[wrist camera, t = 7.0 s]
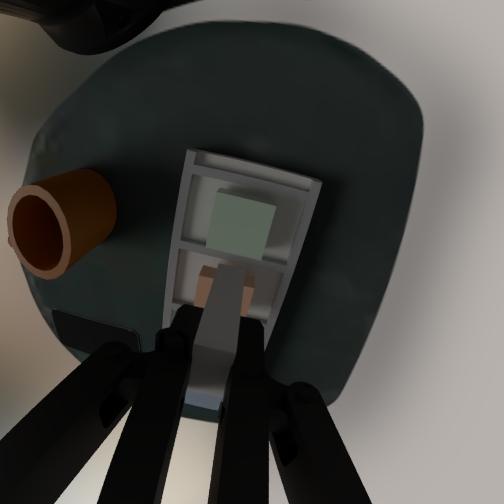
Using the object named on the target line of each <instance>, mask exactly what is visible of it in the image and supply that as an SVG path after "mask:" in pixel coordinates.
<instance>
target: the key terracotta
mask: <svg viewBox="0 0 504 504" xmlns="http://www.w3.org/2000/svg"><path fill="white" fill-rule="evenodd" d="M216 270H217V268H214V267H210V266H205V265H203V267H202V269H201V271H200V274H199V277H198V283H197V289H196V295H195V301H194V306H197V307H201V308H205V304H206V301H207V298H208V295H209V292H210V289H211V286H212V282H213V279H214V276H215V273H216ZM254 288H255V277H252V276H248V275H245V280H244V289H243V297H242V306H241V315H240V316H244V317H246V316H247V312H248V309H249V305H250V302H251V299H252V295H253V292H254Z"/></svg>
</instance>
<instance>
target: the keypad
mask: <svg viewBox="0 0 504 504" xmlns="http://www.w3.org/2000/svg"><path fill="white" fill-rule="evenodd" d="M321 186H322V182H321V181H320V180H319V179H316V178H313V177H309V176H306V175H302V174H299V173H295V172H292V171H288V170H285V169H281V168H277V167H273V166H269V165H265V164H261V163H257V162H253V161H249V160H245V159H241V158H236V157H232V156H227V155H223V154H218V153H213V152H208V151H203V150H198V149H193V148H192V149H187V154H186V159H185V163H184V169H183V174H182V179H181V184H180V190H179V196H178V201H177V207H176V214H175V220H174V227H173V233H172V240H171V248H170V256H169V264H168V272H167V281H166V291H165V301H164V313H163V326H162V329H163V328H168V327H170V325H171V323H172V320H173V318H174V316H175V314H176V311H177V309H178V308H179V307H181V306H182V305H183V304H189V305H193V306H194V301H195V295H196V289H197V283H198V277H199V274H200V271H201V269H202V267H203V265H205V266H210V267H214V268H217V267H218V264H219V263H220V264H224V265H228V266H233V267H237V268H241V269H246V271H245V275H248V276H252V277H255V288H254V292H253V295H252V299H251V302H250V305H249V309H248V312H247V316H246V317H248V318H253V319H258V320H260V321H261V323H262V325H263V326H264V351H265V349H266V346H267V344H268V341H269V338H270V336H271V333H272V330H273V328H274V325H275V322H276V320H277V317H278V314H279V311H280V309H281V306H282V303H283V300H284V298H285V295H286V292H287V289H288V286H289V284H290V281H291V278H292V275H293V272H294V269H295V266H296V263H297V260H298V257H299V254H300V252H301V249H302V246H303V243H304V239H305V236H306V233H307V230H308V227H309V224H310V221H311V218H312V215H313V212H314V208H315V205H316V202H317V199H318V195H319V192H320V189H321ZM219 188H225V189H229V190H233V191H238V192H242V193H246V194H250V195H254V196H258V197H262V198H266V199H270V200H274V201H275V202H276V210H275V213H274V217H273V221H272V224H271V228H270V231H269V235H268V238H267V242H266V245H265V249H264V252H263V256H262V259H261V260H257V259H252V258H248V257H244V256H240V255H236V254H231V253H227V252H223V251H219V250H215V249H210V248H206V247H205V246H206V241H207V236H208V231H209V226H210V221H211V216H212V211H213V207H214V202H215V197H216V193H217V191H218V190H219ZM223 397H224V396H223ZM221 401H223V398H221Z"/></svg>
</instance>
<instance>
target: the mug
mask: <svg viewBox="0 0 504 504" xmlns="http://www.w3.org/2000/svg"><path fill="white" fill-rule="evenodd" d="M116 213H117V205H116V201H115V196H114V193H113V191H112V189H111V187H110V185H109V183H108V182H107V181H106V180H105V179H104V178H103V177H102V176H101V175H100V174H99V173H97V172H95V171H93V170H91V169H78V170H74V171H70V172H67V173H63V174H60V175H57V176H53V177H50V178H47V179H44V180H40V181H37V182H34V183H31V184H28V185H26V186H24V187H22V188H19V190H18V191H17V192H16V193H15V194H14V196H13V197H12V199H11V202H10V204H9V207H8V216H7V225H8V234H9V237H8V243H9V245H10V246H11V247H13V249H14V251H15V253H16V255H17V257H18V259H19V260H20V261H21V262H22V264H23V265H24V266H25V267H26V268H27V270H29V271H30V272H31V273H33V274H34V275H36V276H37V277H40V278H43V279H56V278H57V277H58V276H60V275H61V274H63V273H64V272H65V271H67V270H68V269H69V268H70V267H71V266H72V265H74V264H75V263H76V262H77V261H78V260H80V259H81V258H82V257H83V256H84V255H86V254H87V253H88V252H89V251H91V250H92V249H93V248H94V247H96V246H97V245H98V244H99V243H101V242H102V241H103V240H105V239H106V238H107V237H108V235H109V234H110V233H111V231H112V230H113V227H114V224H115V221H116Z"/></svg>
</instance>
